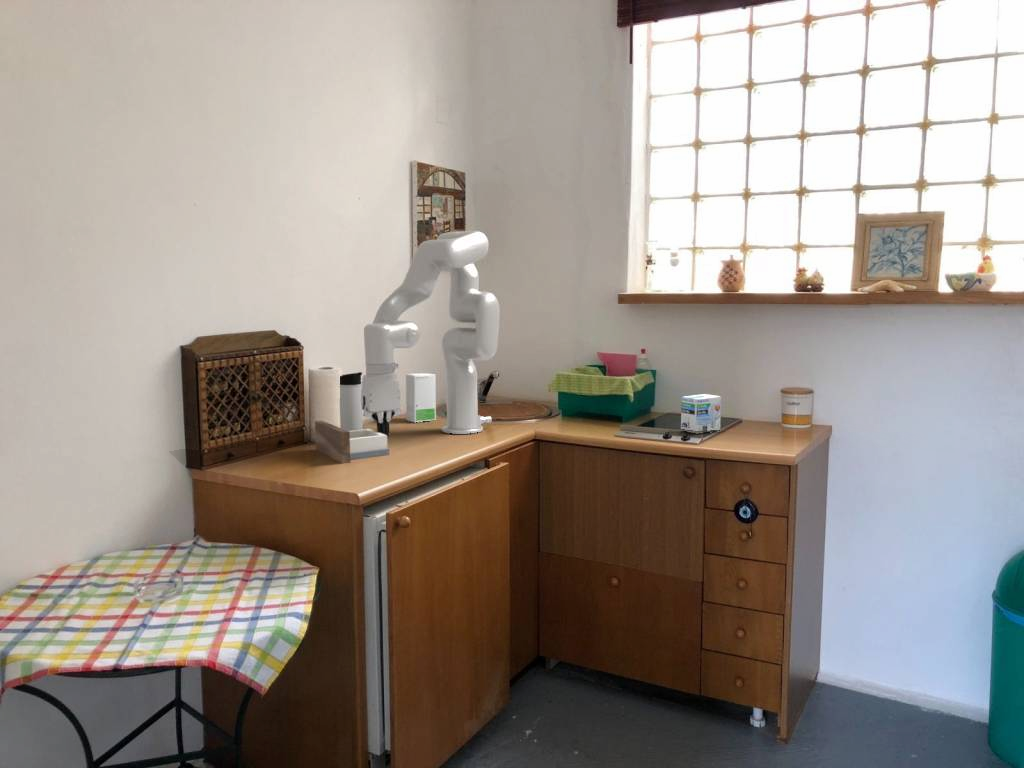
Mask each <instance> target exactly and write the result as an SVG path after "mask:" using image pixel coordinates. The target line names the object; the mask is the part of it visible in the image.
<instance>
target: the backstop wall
mask: <svg viewBox="0 0 1024 768" xmlns="http://www.w3.org/2000/svg"><path fill="white" fill-rule="evenodd" d="M314 436H315V451H316V452H319V453H321V454H323V455H325V456H327V457H329V458H331V459H333V460H335V461H337V462H339V463H341V464H349V463H351V460H350V434H349V431H346V430H344V429H341V428H340V427H339V426H337V425H334V424H331V423H329V422H326V421H324V420H316V421H314Z"/></svg>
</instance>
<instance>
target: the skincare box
mask: <svg viewBox="0 0 1024 768" xmlns="http://www.w3.org/2000/svg"><path fill="white" fill-rule="evenodd" d="M436 377H437V376H436V373H435V374H433V373H406V374H405V390H406V393H405V394H406V395H405V397H406V398H405V399H406V401H405V402H406V403H405V405H406V408H405V409H406V410H405V411H406V421H407V420H408V421H407V422H410V421H411V423H413V422H414V423H416V422H417V423H424V422H423V421H430V422H432V421H431V420H436V421H437V402H436V401H437V398H436V396H437V394H436V393H437V392H436V389H437V388H436V383H437V381H436V379H437V378H436ZM414 423H413V424H414Z"/></svg>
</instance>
